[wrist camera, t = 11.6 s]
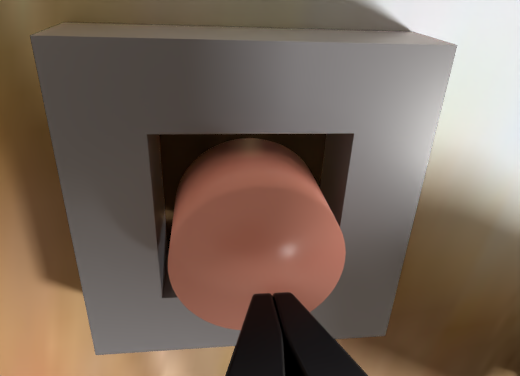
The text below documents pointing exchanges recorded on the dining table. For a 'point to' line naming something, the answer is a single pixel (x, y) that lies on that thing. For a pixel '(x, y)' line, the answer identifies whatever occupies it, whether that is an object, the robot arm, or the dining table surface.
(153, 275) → the button housing
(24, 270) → the dining table surface
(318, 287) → the button
